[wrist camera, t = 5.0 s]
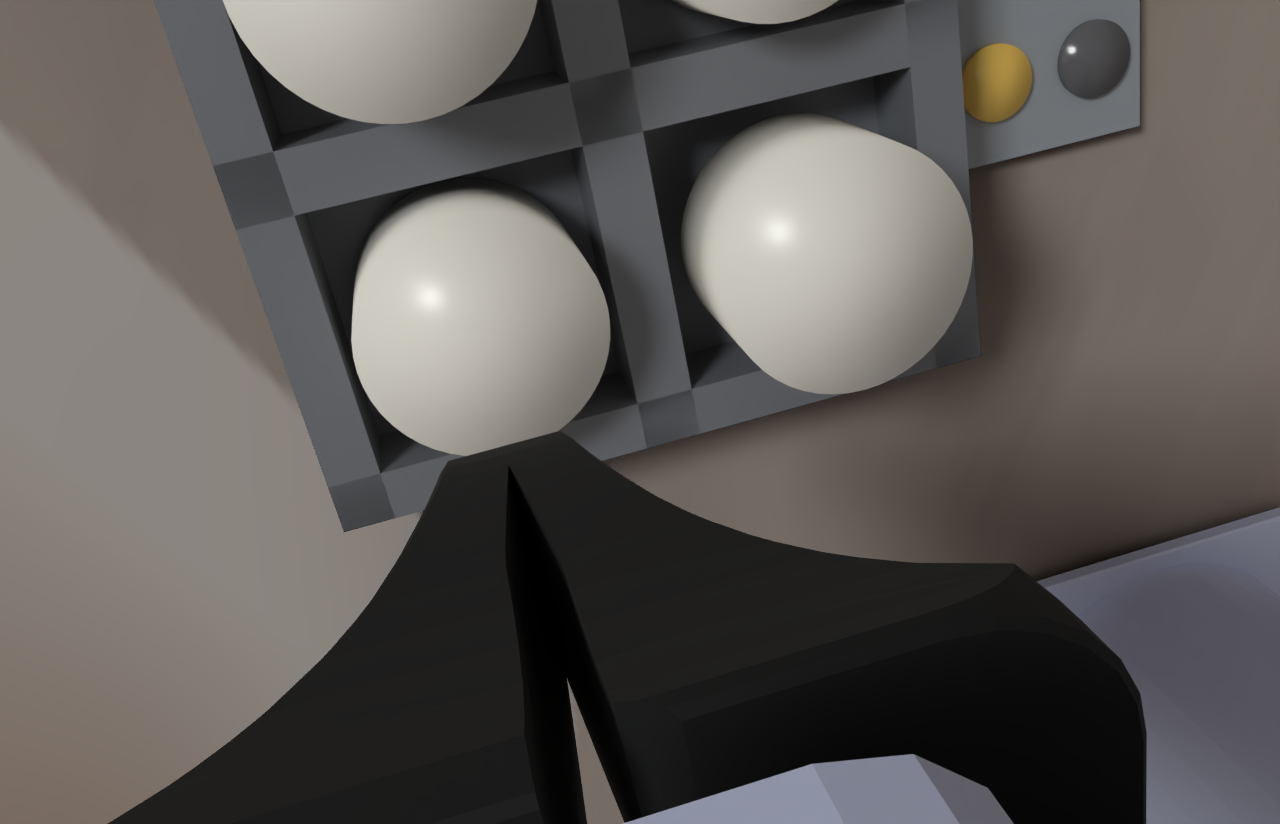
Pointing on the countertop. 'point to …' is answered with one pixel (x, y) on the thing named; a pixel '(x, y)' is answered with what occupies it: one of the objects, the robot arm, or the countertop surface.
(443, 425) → the cream round ball
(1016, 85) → the tile
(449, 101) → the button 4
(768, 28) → the tray
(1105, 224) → the countertop surface
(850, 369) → the cream rounded dome
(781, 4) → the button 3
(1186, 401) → the countertop surface
